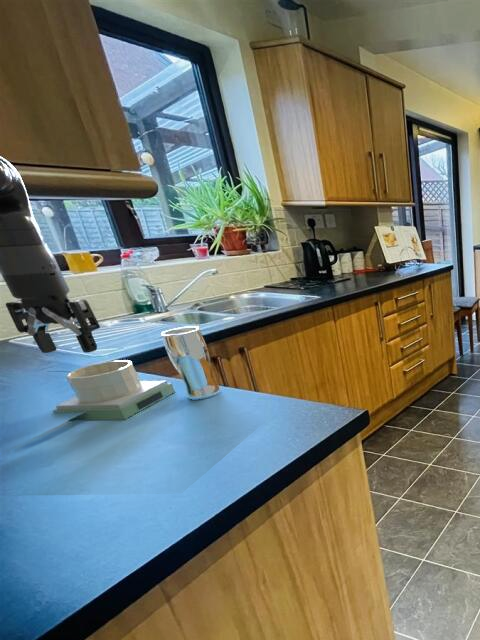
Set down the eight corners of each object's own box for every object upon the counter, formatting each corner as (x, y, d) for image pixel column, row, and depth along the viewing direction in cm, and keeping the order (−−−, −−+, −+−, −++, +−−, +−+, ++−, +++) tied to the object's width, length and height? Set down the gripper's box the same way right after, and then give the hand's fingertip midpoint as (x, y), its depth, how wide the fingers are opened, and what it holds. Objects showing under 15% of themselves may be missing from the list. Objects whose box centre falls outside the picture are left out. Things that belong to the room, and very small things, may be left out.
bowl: (64, 403, 81) (51, 378, 79) (110, 383, 90) (100, 360, 88) (112, 402, 81) (100, 377, 79) (153, 382, 90) (144, 359, 88)
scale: (58, 421, 81) (50, 407, 80) (116, 393, 93) (110, 380, 92) (125, 419, 81) (119, 405, 79) (176, 392, 93) (171, 379, 91)
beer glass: (199, 402, 87) (173, 336, 81) (178, 398, 89) (151, 334, 83) (229, 389, 93) (207, 327, 87) (209, 386, 95) (186, 325, 89)
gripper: (-31, 273, 72) (15, 358, 79) (46, 272, 72) (86, 357, 78) (17, 268, 79) (56, 346, 85) (87, 267, 79) (121, 345, 85)
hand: (70, 351), depth 82 cm, fingers open, 8 cm apart
